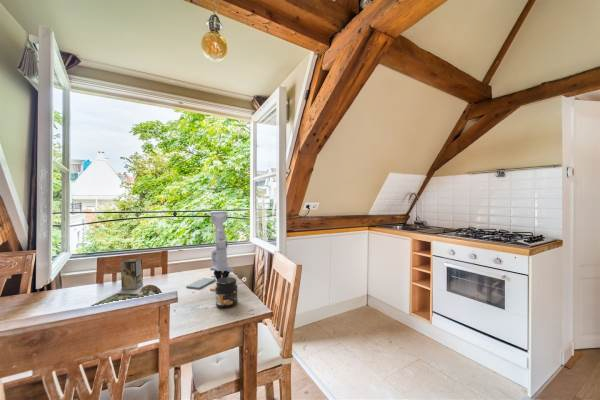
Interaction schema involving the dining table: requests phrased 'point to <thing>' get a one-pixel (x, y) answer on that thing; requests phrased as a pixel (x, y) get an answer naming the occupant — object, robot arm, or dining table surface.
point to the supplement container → (226, 292)
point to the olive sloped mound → (120, 296)
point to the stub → (214, 286)
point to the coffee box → (131, 274)
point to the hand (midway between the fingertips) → (222, 283)
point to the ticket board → (201, 283)
